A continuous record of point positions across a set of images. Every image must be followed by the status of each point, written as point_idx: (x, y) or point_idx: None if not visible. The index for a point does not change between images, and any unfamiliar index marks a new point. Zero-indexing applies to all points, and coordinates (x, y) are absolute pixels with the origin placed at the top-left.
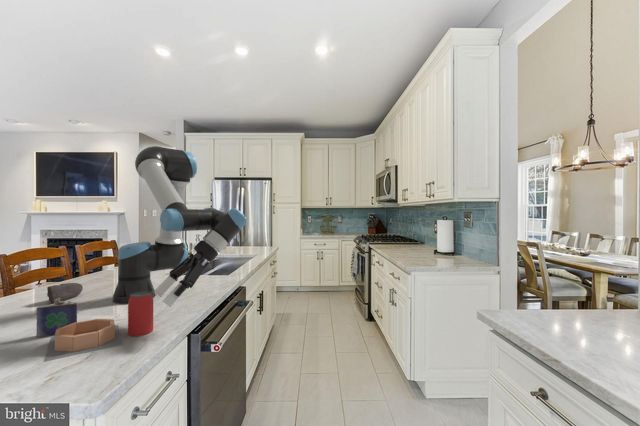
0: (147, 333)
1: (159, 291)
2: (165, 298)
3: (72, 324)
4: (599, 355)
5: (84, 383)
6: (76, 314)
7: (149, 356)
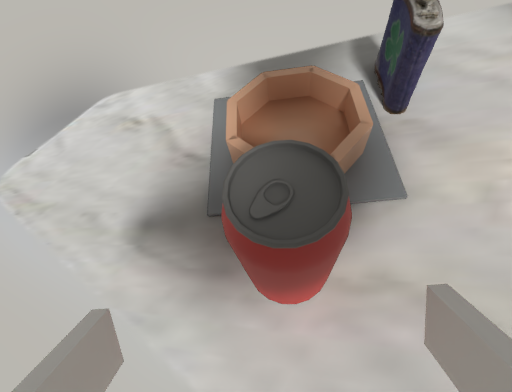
0: (251, 280)
1: (445, 331)
2: (82, 327)
3: (339, 83)
4: None
5: (72, 165)
6: (411, 69)
7: (84, 274)
